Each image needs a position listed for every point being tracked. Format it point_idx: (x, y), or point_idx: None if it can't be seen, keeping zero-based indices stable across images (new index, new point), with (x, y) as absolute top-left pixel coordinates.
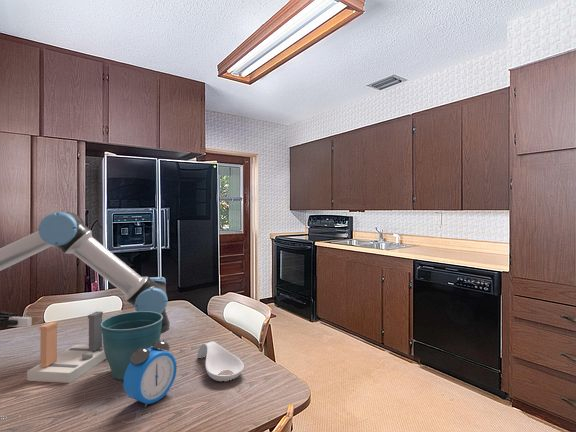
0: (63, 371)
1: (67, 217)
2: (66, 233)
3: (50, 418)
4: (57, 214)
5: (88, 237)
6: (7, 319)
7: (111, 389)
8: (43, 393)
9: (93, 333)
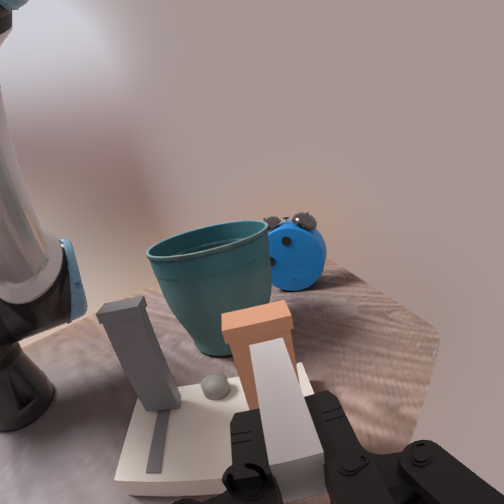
0: (301, 377)
1: None
2: None
3: (391, 317)
4: None
5: None
6: (333, 463)
7: (296, 321)
8: (360, 382)
9: (162, 353)
